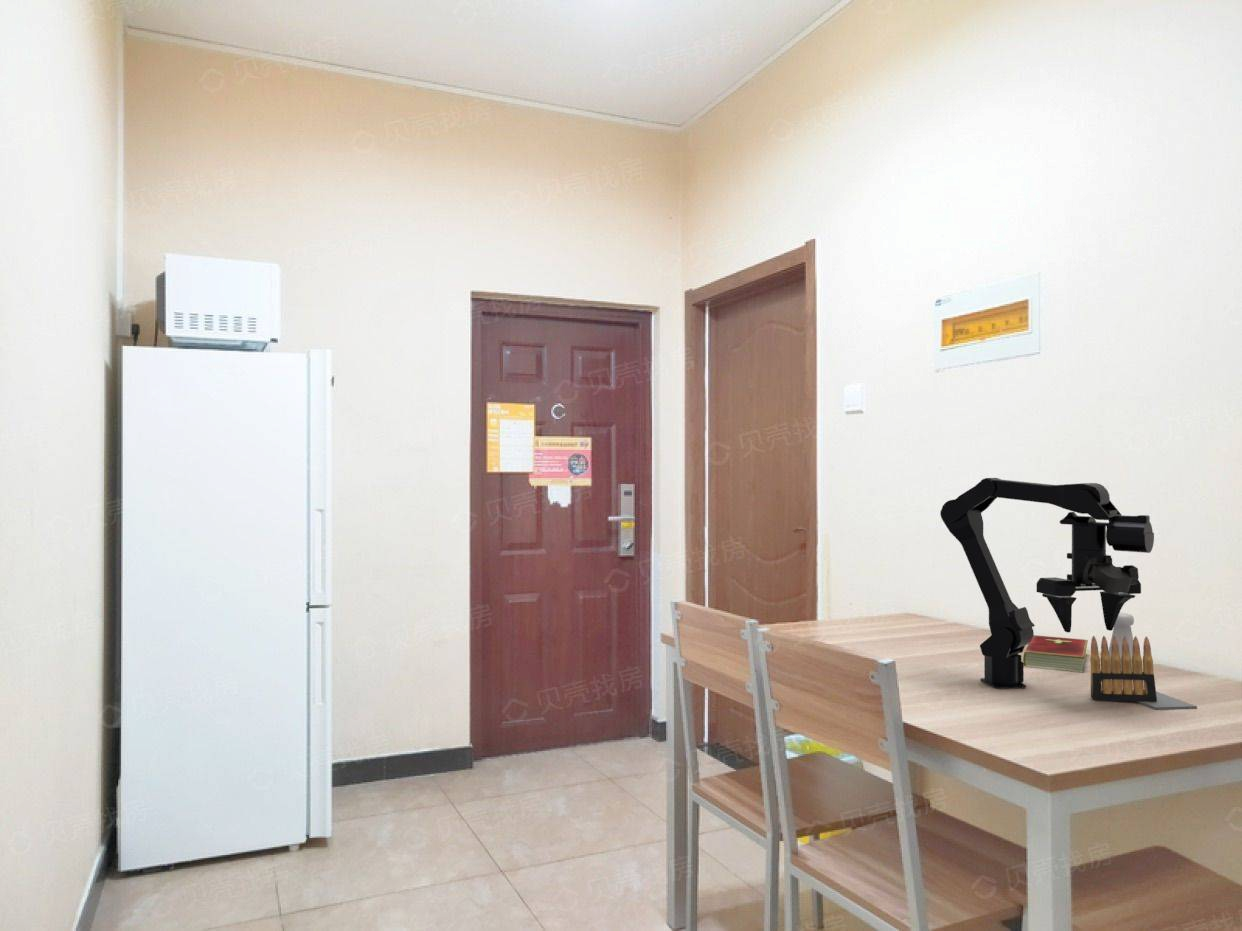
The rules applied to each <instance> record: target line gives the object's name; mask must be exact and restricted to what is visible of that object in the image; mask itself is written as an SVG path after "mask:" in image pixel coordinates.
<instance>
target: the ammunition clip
mask: <svg viewBox="0 0 1242 931" xmlns="http://www.w3.org/2000/svg"><path fill="white" fill-rule="evenodd" d="M1100 642H1101V643H1100V650H1101V651H1100V653H1099V647H1098V646H1099V645H1098V640H1097V638H1096V637H1095V635H1093V636H1092V637H1091V641H1090V660H1089V663H1090V698H1091V699H1092V700H1094V701H1117V702H1118V701H1120V702H1121V701H1123V702H1135V701H1145V702H1157V696H1156V692H1157V690H1156V680H1155V672H1154V660H1153V656H1152V648H1151V642H1150V639H1149V637H1148V636H1145V637H1144V640H1143V646H1142V648H1143V651H1142V652H1143V653H1142V654H1143V655H1142V656H1141V649H1140V648H1141V647H1140V643H1139V639H1138V637H1137V636H1136V635H1135V636H1134V637H1133V656H1132V667H1131V658H1130V652H1129V645H1128V641H1127V638H1126V637H1125V636H1124V638H1123V641H1122V657H1121V660H1120V656H1119V648H1118V642H1117V639H1116V637H1115V636H1114V637H1113V639H1112V646H1111V648H1112V651H1111V665H1110V657H1109V645H1108V640H1107V638H1106V636H1105V635H1103V636H1102V639H1101V641H1100ZM1099 654H1100V655H1099ZM1121 665H1122V671H1121ZM1132 671H1133V672H1132ZM1133 690H1134V692H1133Z"/></svg>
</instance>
